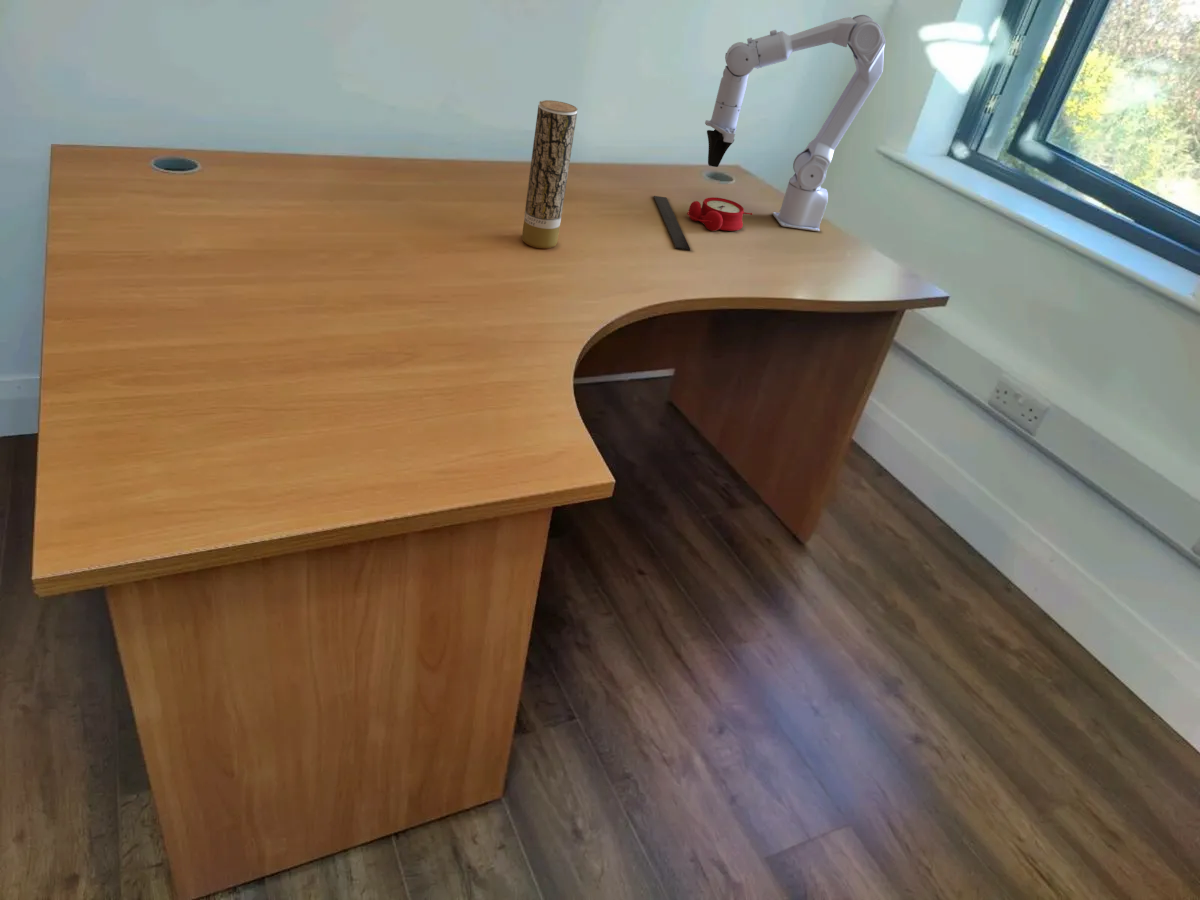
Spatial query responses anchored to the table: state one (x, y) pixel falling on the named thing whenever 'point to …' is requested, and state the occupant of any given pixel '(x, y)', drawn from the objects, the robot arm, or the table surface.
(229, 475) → the table surface
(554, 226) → the paper tube
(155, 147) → the table surface
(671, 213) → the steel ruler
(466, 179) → the table surface
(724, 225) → the alarm clock
